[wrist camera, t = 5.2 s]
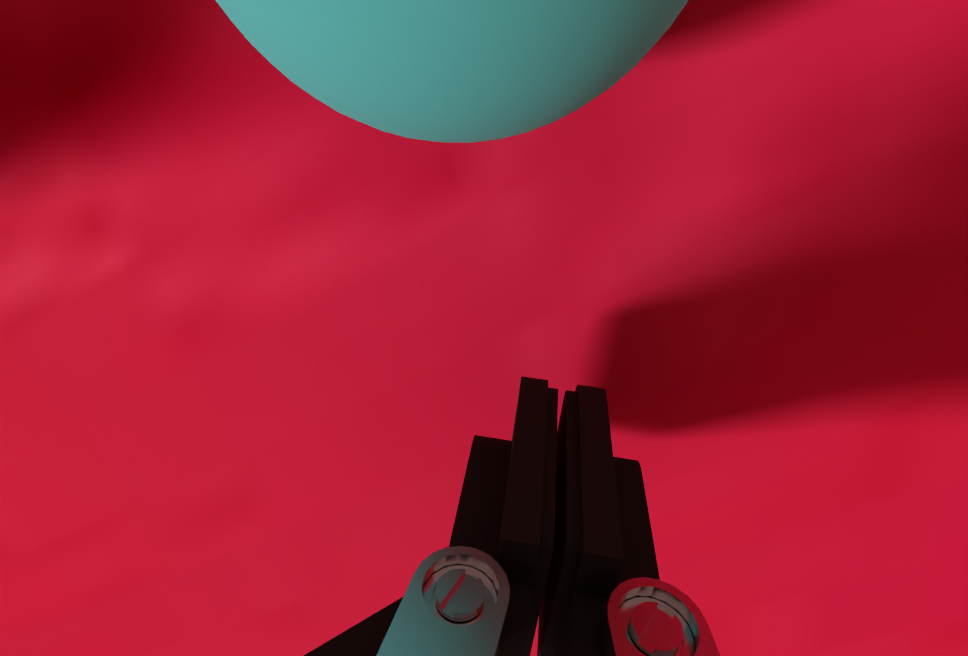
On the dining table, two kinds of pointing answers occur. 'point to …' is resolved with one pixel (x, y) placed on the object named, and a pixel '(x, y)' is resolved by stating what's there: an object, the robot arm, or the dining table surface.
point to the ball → (454, 57)
